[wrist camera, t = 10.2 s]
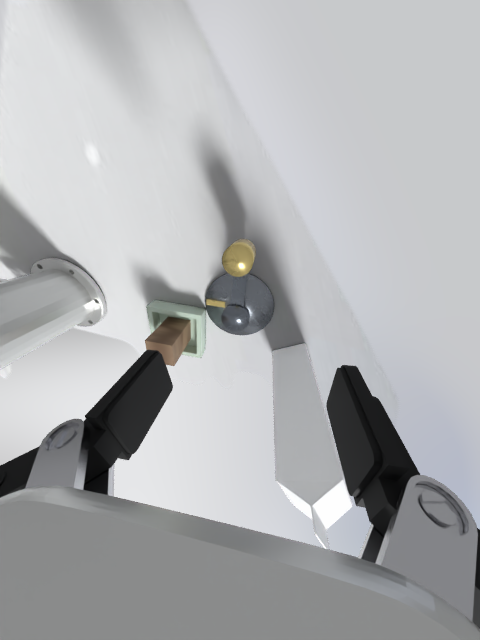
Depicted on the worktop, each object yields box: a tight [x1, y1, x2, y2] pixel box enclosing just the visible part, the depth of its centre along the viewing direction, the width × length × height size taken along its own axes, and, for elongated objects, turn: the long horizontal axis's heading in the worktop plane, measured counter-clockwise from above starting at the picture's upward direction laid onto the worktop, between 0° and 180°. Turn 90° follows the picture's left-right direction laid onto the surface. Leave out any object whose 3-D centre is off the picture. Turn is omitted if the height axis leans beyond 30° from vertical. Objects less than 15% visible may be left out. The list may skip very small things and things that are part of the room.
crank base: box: [205, 273, 274, 335], centre depth 28 cm, size 11×11×3 cm
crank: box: [221, 239, 256, 331], centre depth 22 cm, size 12×4×6 cm, turn 174°
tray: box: [146, 300, 206, 358], centre depth 32 cm, size 9×9×2 cm
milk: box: [272, 343, 352, 550], centre depth 24 cm, size 6×6×22 cm
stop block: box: [145, 316, 191, 366], centre depth 30 cm, size 4×4×7 cm
